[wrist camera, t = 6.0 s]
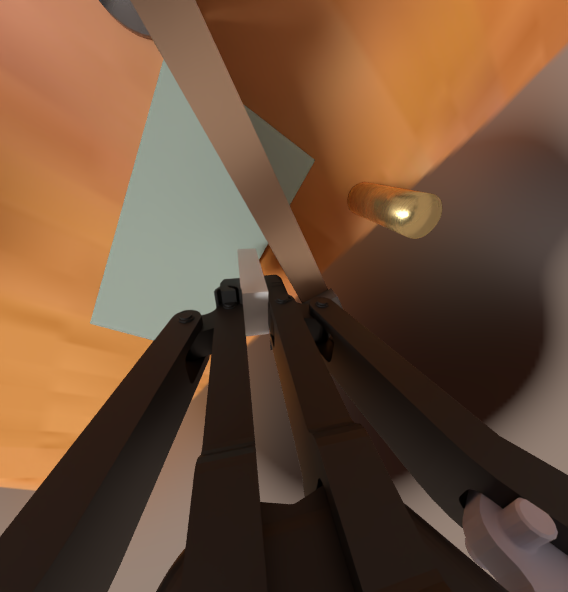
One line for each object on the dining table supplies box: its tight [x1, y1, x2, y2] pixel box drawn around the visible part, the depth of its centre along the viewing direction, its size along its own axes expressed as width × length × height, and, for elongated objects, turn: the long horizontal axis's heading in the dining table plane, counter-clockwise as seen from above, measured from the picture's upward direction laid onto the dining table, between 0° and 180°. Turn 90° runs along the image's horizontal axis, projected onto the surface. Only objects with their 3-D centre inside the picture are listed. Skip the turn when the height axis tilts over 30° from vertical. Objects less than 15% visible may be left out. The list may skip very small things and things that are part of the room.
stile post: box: [348, 182, 442, 239], centre depth 15 cm, size 2×2×7 cm
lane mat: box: [90, 60, 315, 340], centre depth 18 cm, size 20×10×1 cm, turn 149°
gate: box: [130, 0, 343, 309], centre depth 13 cm, size 17×2×7 cm, turn 27°
